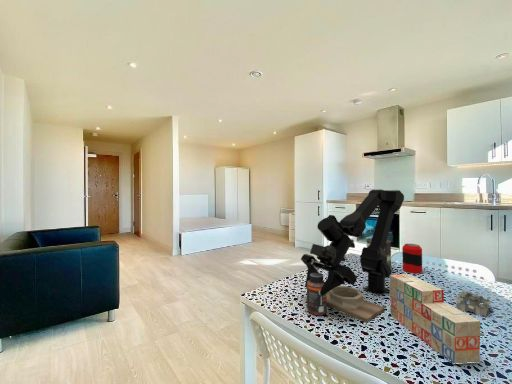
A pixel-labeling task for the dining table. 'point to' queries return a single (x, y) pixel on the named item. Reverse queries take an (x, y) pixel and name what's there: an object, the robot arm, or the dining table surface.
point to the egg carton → (472, 303)
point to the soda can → (412, 258)
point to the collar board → (361, 311)
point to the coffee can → (387, 250)
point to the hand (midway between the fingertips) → (313, 290)
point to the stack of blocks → (434, 319)
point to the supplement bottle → (316, 295)
